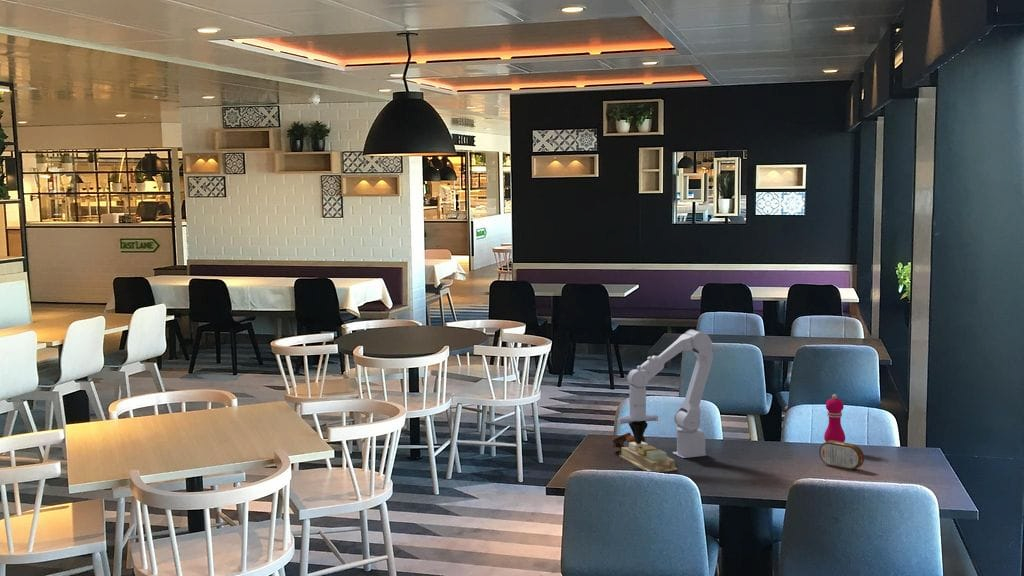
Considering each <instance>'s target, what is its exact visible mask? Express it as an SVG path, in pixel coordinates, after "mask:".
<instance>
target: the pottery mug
mask: <svg viewBox="0 0 1024 576" xmlns="http://www.w3.org/2000/svg"><path fill="white" fill-rule="evenodd" d="M611 442H612V448H619V450H620V451H621V447H625V445H624V444H625V442H627V443H628V444H629V442H635V438H634V435H632V433H631V432H626V433H624V434H622V435H619V436H617V437H616V438H613V440H612V441H611ZM642 442H645V443H646V437H645V436H644V435H643V437H642Z"/></svg>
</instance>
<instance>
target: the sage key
mask: <svg viewBox="0 0 1024 576" xmlns="http://www.w3.org/2000/svg"><path fill="white" fill-rule="evenodd" d="M667 457H668V454H667V452H666V451H663V450H661V449H657V450H653V451H647V458H648V459H650V460H652V461H657V460H666V459H667Z"/></svg>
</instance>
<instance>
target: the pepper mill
mask: <svg viewBox="0 0 1024 576" xmlns="http://www.w3.org/2000/svg"><path fill="white" fill-rule="evenodd" d="M825 408H826V410H827V414H826V415H827V417H828V424H827V426H826V429H825V431H824V434H823V439H824V441H825V442H827V441H829V440H833V441H839V442H844V443H845V441H846V435H845V431H844V429H843V427H842V424H841V423H842V421H841V420H842V418H841V417H843V415H842V414H843V412H842V411H843V410H844V402H843V401H842V400H841V399H839V398H838V394H836V393H834V394H832V396H831V398H829V399H828V400H827V401H826V403H825Z"/></svg>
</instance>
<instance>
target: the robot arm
mask: <svg viewBox="0 0 1024 576" xmlns="http://www.w3.org/2000/svg"><path fill="white" fill-rule="evenodd" d="M712 344H713V341H712V339H711V338H710V335H708V334H707V333H706V332H703V331H699V330H698V331H697V330H695V329H688V330H687V331H685V332H684V333H683V334H681V335H680V336H679V337H678V338H677V339H676V340H675V341H674V342H672V344H670V345H669V346H668V347H667V348H666V349H665V350H663V351H662V352H661V353H660V354H658V355H651V356H647V358H646V359H647V360H646V361H644V362H643V363H642V364H640V365H637V366H636V369H631V370H630V371H629V372H628V375H627V377H626V381H627V383H628V385H629V386H628V387H629V388H628V389H629V392H628V393H629V394H628V395H629V398H628V400H629V401H628V402H629V415H627V416H622V417H618V418H617V424H618V425H624V424H625V425H626V424H628V426H629V427H630V429H631V432H632V434H633V435H632V436H634V438H635V443H638V444H639V443H641V442H642V437H643V436H644V434H645V432H646V429H647V427H648V422H658V421H659V415H658V414H647V389H646V388H647V387H646V386H647V385H648V384H649V381H650V380H651V379H652V378H653V377H654V376H655V377H656V375H657V374H658V373H660V372H661V371H662V370H663V369H665V368H664V367H665V364H666V362H669V361H670V360H671V359H673V358H674V357H676V356H677V355H679V353H681V352H683V351H692V352H693V354H694V355H695V358H696V361H695V365H694V368H693V371H692V375H691V377H690V378H691V379H690V381H689V385H688V389H687V392H686V395H685V398H684V401H683V402H682V403H681V404H679V408H678V410H677V411H675V412H674V413H675V414H674V416H673V420H674V423H675V424H676V425H677V426H676V451H672V454H673V455H675V456H677V457H679V458H681V459H685V458H696V457H706V456H707V454H706V435H705V432H704V431H703V430H702V429H701V428H699V427H701V426H700V425H701V412H702V411H701V408H700V404H701V400H702V397H703V394H704V391H705V387H706V385H707V384H706V383H707V381H708V378H709V375H710V371H711V367H712V364H713V362H714V353H713V346H712Z"/></svg>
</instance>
